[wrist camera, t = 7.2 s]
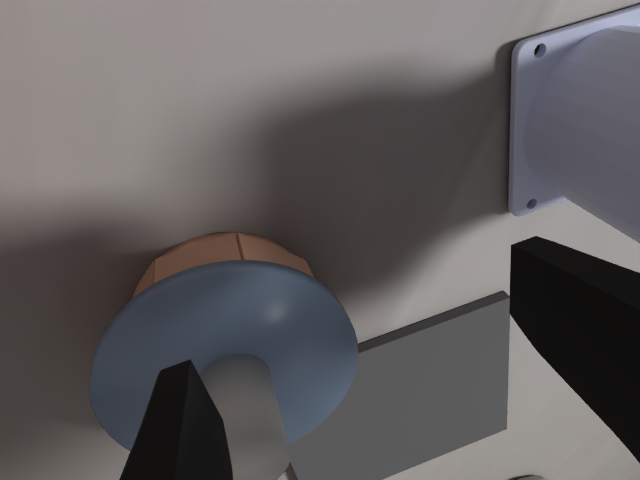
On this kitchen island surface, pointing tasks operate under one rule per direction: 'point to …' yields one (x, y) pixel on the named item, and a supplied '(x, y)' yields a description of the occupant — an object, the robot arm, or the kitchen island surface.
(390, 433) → the mat
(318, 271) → the kitchen island surface
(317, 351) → the lid
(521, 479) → the supplement can
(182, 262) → the bowl
